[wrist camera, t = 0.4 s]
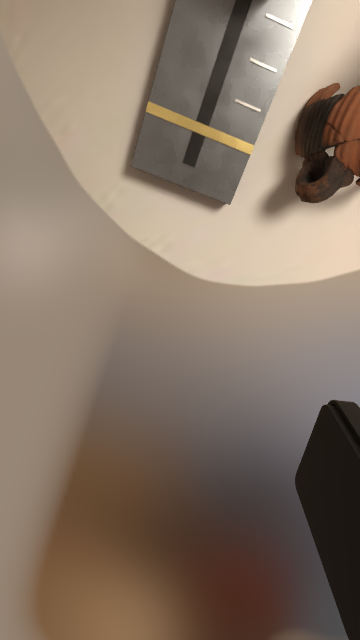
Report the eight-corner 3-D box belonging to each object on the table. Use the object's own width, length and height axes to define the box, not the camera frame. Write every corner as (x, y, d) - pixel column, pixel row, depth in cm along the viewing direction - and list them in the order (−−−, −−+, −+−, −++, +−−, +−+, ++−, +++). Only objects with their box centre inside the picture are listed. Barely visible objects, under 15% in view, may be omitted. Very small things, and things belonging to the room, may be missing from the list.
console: (220, -152, 24) (223, -180, 22) (342, -86, 25) (355, -107, 23) (133, 166, 32) (130, 166, 31) (227, 202, 34) (230, 204, 32)
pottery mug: (335, 50, 29) (436, 31, 23) (364, 133, 35) (449, 136, 29) (251, 165, 30) (325, 177, 24) (293, 226, 36) (361, 248, 30)
